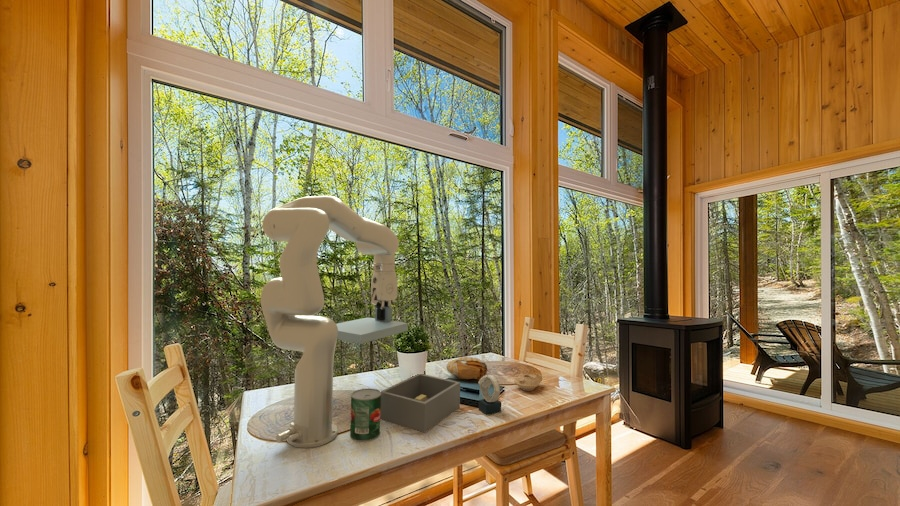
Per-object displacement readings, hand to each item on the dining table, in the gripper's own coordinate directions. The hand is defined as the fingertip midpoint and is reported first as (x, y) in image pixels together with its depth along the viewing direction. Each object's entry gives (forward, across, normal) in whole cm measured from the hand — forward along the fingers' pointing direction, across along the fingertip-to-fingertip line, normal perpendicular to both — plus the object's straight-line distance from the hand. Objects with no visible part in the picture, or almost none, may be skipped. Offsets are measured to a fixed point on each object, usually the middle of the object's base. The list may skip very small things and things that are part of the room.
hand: (383, 319), depth 132 cm
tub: (+25, -10, -24) cm, 36 cm away
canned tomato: (+25, -29, -19) cm, 43 cm away
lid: (+3, -10, 0) cm, 10 cm away
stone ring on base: (+25, +3, -41) cm, 48 cm away
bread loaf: (+25, +26, -23) cm, 43 cm away
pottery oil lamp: (+25, +30, -46) cm, 60 cm away
